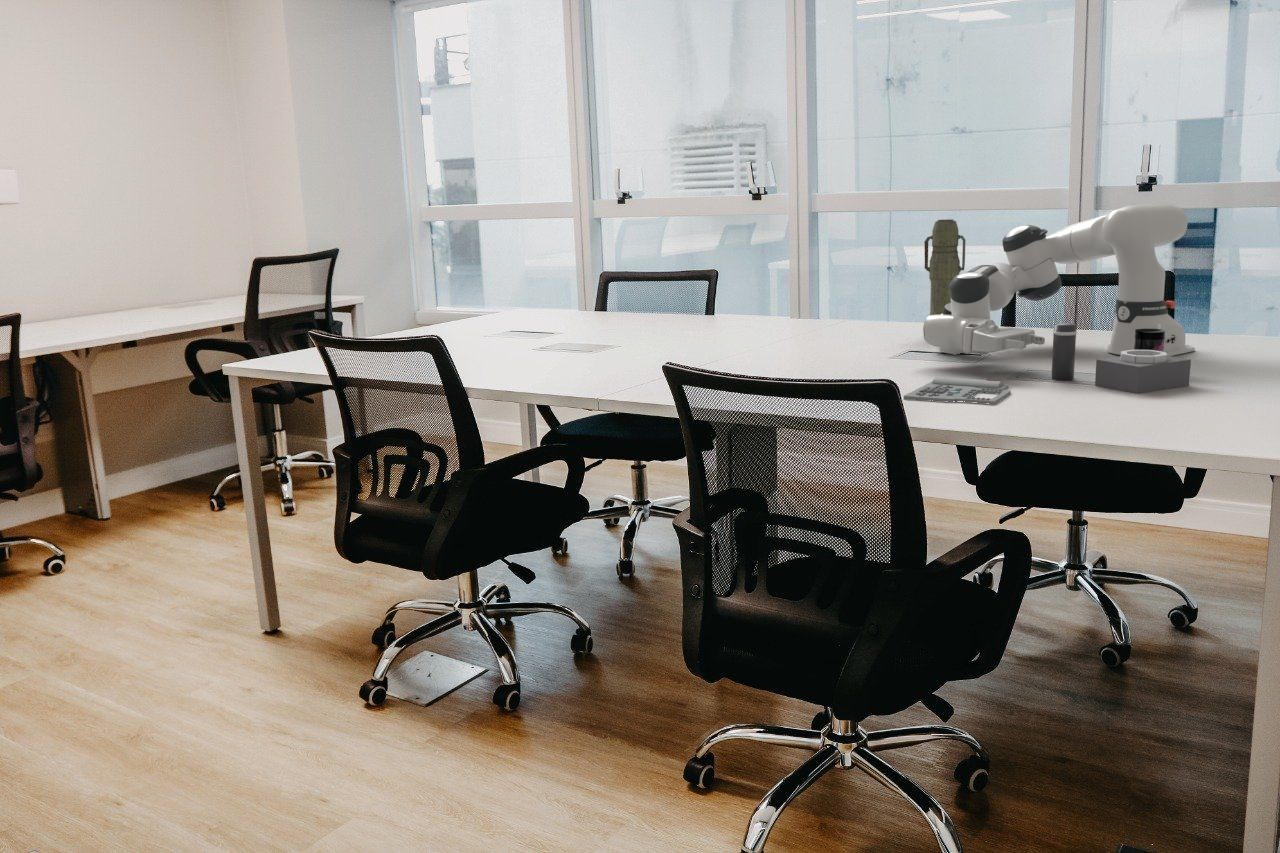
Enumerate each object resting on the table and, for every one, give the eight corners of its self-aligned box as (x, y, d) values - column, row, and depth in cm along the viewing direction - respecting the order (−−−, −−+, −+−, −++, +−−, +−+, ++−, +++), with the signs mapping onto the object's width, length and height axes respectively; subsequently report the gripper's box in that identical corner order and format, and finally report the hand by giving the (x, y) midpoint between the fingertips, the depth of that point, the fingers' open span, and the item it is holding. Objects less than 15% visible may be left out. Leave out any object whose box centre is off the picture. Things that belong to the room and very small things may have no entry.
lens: (1062, 376, 266) (1065, 322, 263) (1079, 379, 261) (1081, 324, 258) (1046, 378, 264) (1048, 324, 261) (1062, 381, 259) (1065, 326, 256)
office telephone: (935, 373, 265) (1020, 378, 255) (935, 384, 266) (1019, 389, 255) (903, 389, 246) (993, 396, 235) (903, 401, 247) (993, 408, 236)
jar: (951, 357, 299) (961, 317, 293) (928, 345, 305) (937, 306, 299) (971, 350, 304) (982, 311, 298) (948, 339, 310) (958, 300, 304)
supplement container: (1134, 375, 263) (1136, 332, 261) (1130, 370, 269) (1132, 328, 267) (1164, 376, 261) (1167, 332, 259) (1160, 371, 267) (1163, 328, 265)
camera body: (1145, 377, 260) (1147, 346, 258) (1188, 385, 249) (1191, 352, 247) (1095, 385, 254) (1096, 353, 252) (1137, 393, 243) (1139, 360, 241)
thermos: (922, 334, 340) (925, 219, 332) (962, 334, 337) (965, 218, 329) (922, 338, 332) (924, 221, 324) (963, 338, 329) (966, 220, 321)
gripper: (1001, 344, 283) (1052, 351, 273) (960, 353, 269) (1012, 360, 259) (1003, 319, 281) (1055, 326, 272) (962, 327, 267) (1015, 334, 258)
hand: (1034, 343), depth 265 cm, fingers open, 8 cm apart
